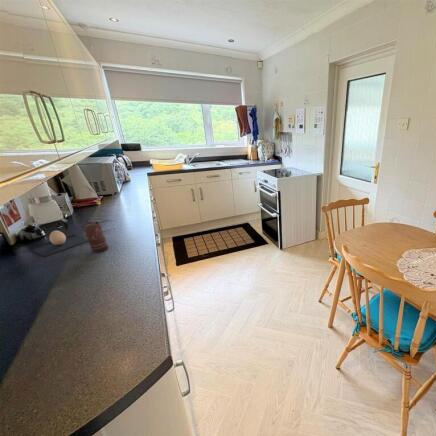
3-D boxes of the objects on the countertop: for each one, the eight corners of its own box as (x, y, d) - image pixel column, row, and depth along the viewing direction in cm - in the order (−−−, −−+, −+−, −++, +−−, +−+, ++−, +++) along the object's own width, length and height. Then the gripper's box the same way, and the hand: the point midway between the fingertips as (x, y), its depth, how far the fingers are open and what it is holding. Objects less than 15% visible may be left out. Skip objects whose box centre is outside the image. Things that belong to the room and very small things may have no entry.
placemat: (44, 256, 107) (44, 256, 107) (29, 249, 113) (29, 248, 113) (89, 240, 122) (89, 240, 122) (74, 235, 129) (73, 234, 128)
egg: (66, 240, 121) (61, 227, 119) (69, 243, 118) (64, 230, 115) (51, 245, 117) (45, 231, 114) (54, 248, 114) (48, 234, 111)
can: (110, 245, 117) (102, 220, 112) (105, 251, 111) (96, 225, 106) (96, 247, 115) (86, 221, 110) (90, 253, 110) (80, 226, 104)
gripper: (60, 194, 118) (71, 225, 124) (11, 203, 103) (25, 237, 109) (68, 196, 115) (78, 228, 121) (18, 205, 100) (33, 240, 106)
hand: (53, 232), depth 115 cm, fingers open, 9 cm apart
